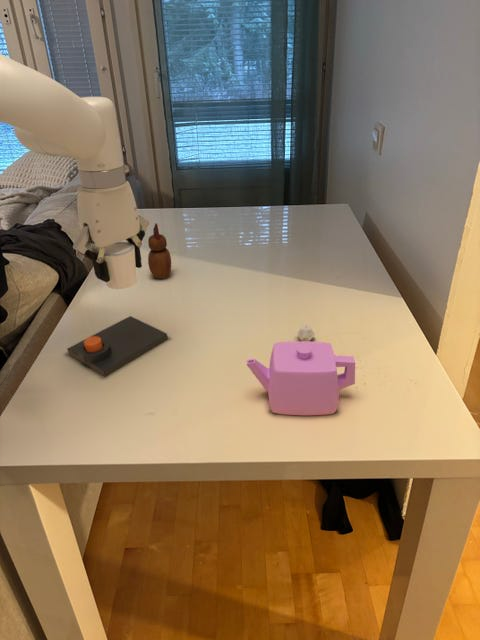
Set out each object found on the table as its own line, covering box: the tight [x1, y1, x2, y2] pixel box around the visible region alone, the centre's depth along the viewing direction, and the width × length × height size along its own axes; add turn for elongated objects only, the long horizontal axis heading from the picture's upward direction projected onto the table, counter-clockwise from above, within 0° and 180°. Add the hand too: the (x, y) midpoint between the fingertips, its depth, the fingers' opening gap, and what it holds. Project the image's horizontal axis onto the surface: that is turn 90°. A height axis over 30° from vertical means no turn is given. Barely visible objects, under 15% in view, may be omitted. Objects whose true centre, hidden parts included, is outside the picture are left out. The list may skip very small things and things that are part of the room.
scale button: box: [84, 335, 103, 352], centre depth 90 cm, size 3×3×2 cm
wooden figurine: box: [147, 223, 172, 280], centre depth 120 cm, size 7×6×15 cm
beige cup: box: [97, 241, 137, 290], centre depth 88 cm, size 7×7×7 cm
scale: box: [67, 315, 169, 377], centre depth 95 cm, size 17×12×3 cm
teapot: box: [246, 340, 356, 416], centre depth 78 cm, size 18×10×10 cm, turn 87°
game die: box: [296, 324, 315, 342], centre depth 95 cm, size 4×4×3 cm
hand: (119, 272), depth 88 cm, fingers closed on beige cup, 6 cm apart
